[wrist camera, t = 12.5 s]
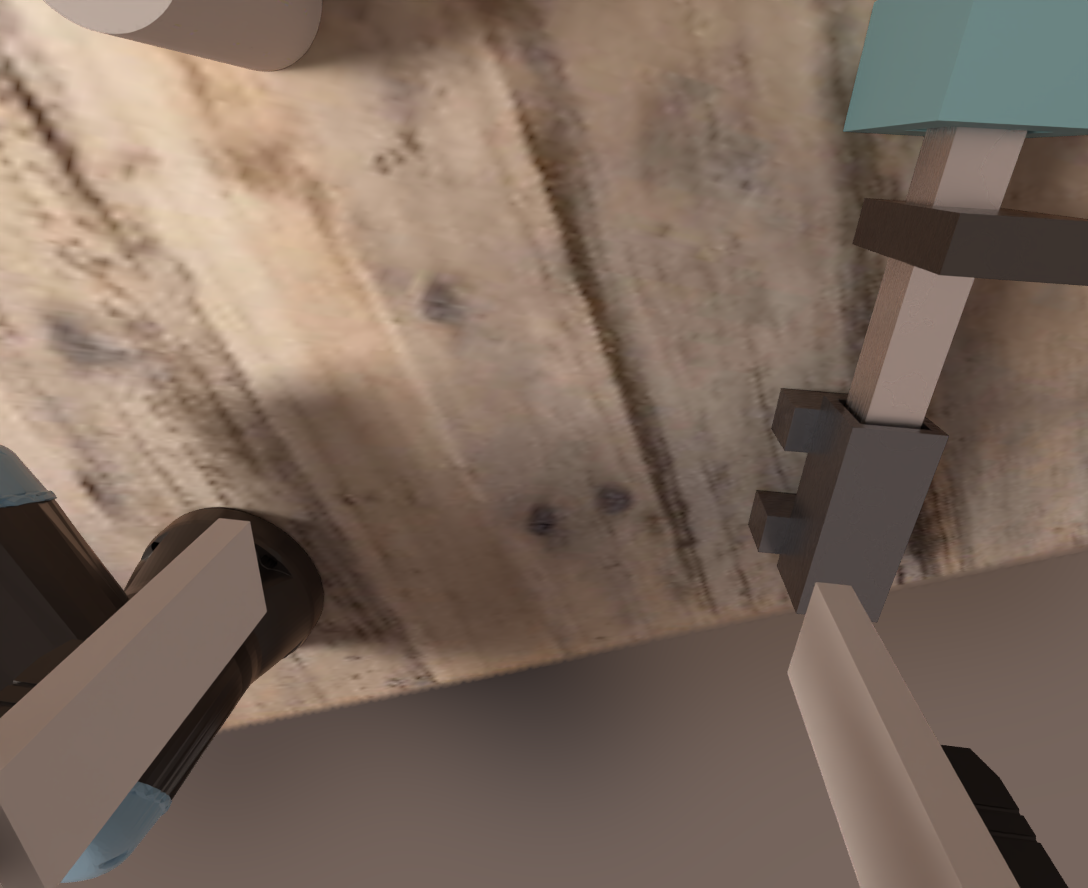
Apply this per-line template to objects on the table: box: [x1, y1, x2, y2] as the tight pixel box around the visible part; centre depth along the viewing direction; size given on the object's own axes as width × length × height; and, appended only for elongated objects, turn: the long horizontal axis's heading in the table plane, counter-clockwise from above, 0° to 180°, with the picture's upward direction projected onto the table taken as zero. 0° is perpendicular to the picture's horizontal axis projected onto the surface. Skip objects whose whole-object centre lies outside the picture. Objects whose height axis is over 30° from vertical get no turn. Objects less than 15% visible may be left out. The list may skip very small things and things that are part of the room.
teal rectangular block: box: [843, 0, 1088, 138], centre depth 27 cm, size 6×8×11 cm
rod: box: [845, 126, 1088, 429], centre depth 30 cm, size 25×6×10 cm, turn 177°
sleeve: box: [748, 388, 949, 622], centre depth 39 cm, size 13×8×8 cm, turn 177°
